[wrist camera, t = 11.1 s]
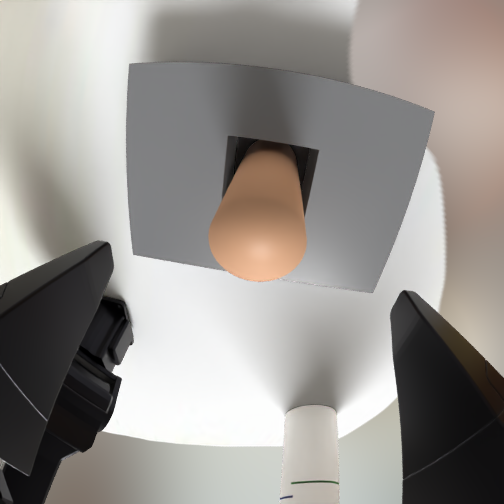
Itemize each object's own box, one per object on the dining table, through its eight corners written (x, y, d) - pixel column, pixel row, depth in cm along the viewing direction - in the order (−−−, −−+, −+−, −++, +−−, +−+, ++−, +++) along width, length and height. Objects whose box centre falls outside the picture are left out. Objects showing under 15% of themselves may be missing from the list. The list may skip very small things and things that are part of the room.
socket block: (154, 226, 22) (133, 254, 19) (158, 64, 16) (129, 63, 12) (361, 259, 22) (372, 293, 18) (407, 103, 15) (434, 111, 12)
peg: (241, 183, 20) (206, 273, 11) (247, 134, 18) (211, 189, 9) (291, 191, 20) (295, 287, 11) (301, 142, 18) (316, 205, 9)
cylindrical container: (274, 417, 37) (257, 581, 16) (309, 399, 33) (301, 588, 12) (311, 429, 39) (304, 578, 18) (347, 413, 35) (349, 579, 14)
